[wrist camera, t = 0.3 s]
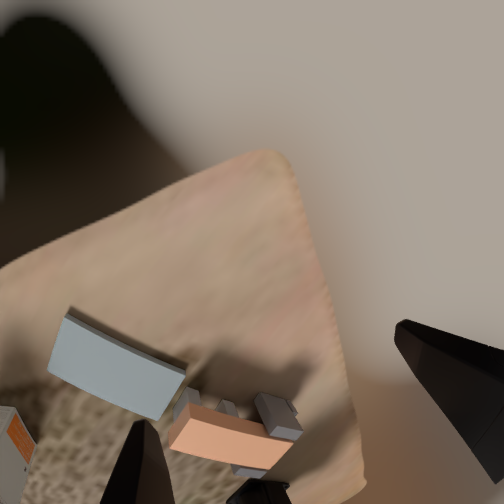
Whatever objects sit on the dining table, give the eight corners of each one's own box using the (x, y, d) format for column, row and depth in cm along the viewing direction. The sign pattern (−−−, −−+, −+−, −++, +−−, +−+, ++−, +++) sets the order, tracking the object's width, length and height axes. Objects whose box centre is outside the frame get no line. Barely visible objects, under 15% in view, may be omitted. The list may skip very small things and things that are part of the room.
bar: (263, 455, 25) (269, 469, 23) (168, 432, 22) (169, 448, 20) (286, 429, 25) (293, 443, 23) (188, 401, 22) (190, 418, 20)
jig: (253, 446, 28) (267, 479, 24) (163, 422, 25) (166, 459, 20) (290, 401, 28) (310, 432, 23) (197, 369, 25) (205, 405, 20)
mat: (157, 415, 25) (157, 421, 24) (49, 365, 21) (46, 370, 20) (184, 370, 24) (185, 375, 24) (66, 313, 21) (64, 317, 20)
